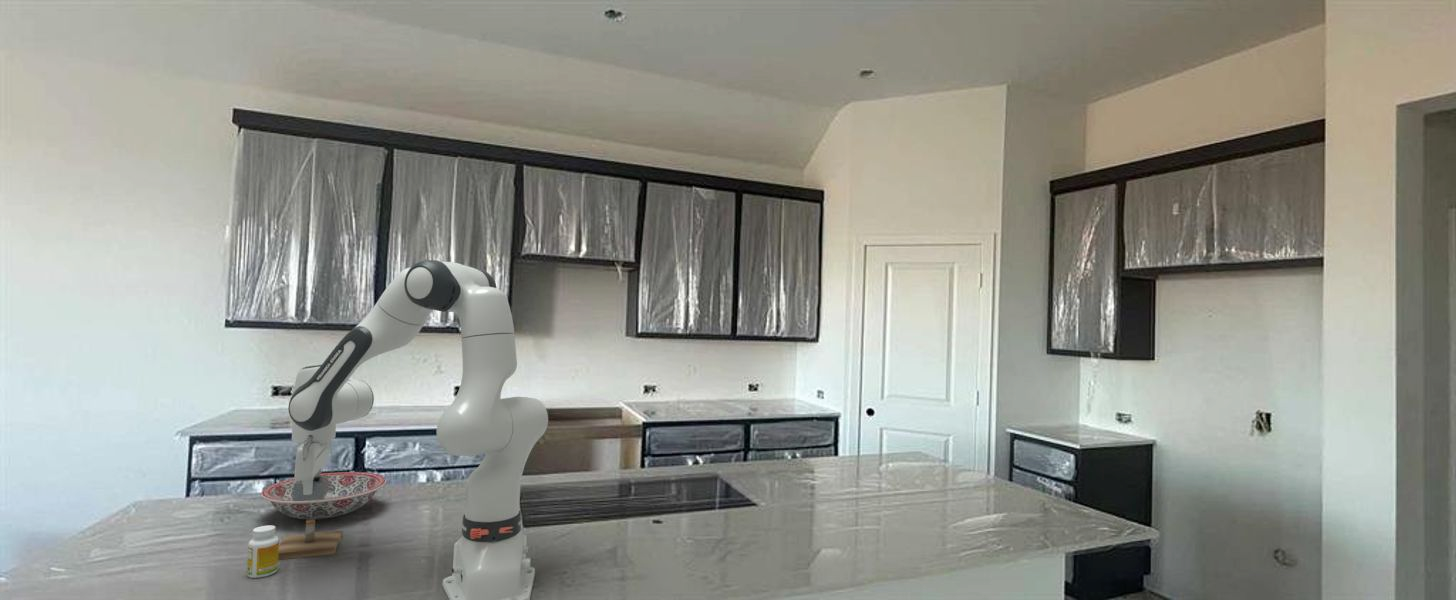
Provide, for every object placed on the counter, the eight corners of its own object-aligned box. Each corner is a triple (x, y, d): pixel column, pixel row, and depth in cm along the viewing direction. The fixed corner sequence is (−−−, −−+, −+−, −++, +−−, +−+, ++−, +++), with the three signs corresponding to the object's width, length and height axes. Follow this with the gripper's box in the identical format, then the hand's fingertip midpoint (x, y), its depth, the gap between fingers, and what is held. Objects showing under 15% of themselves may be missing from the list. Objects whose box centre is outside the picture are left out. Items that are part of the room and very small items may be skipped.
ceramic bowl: (377, 527, 167) (378, 496, 167) (243, 538, 157) (244, 505, 157) (391, 495, 194) (392, 469, 195) (277, 503, 184) (278, 475, 184)
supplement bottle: (283, 568, 140) (285, 524, 140) (266, 578, 135) (268, 532, 135) (258, 567, 140) (260, 523, 140) (240, 578, 135) (242, 532, 135)
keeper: (334, 553, 149) (335, 526, 149) (272, 560, 144) (273, 531, 144) (342, 536, 160) (343, 510, 160) (285, 541, 155) (286, 515, 155)
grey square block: (323, 499, 151) (323, 482, 151) (293, 501, 148) (293, 484, 148) (327, 491, 156) (328, 475, 156) (299, 493, 154) (299, 477, 154)
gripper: (321, 440, 144) (318, 501, 144) (336, 423, 163) (334, 477, 163) (287, 441, 142) (285, 503, 142) (307, 424, 160) (305, 479, 160)
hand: (311, 489), depth 152 cm, fingers closed on grey square block, 6 cm apart
